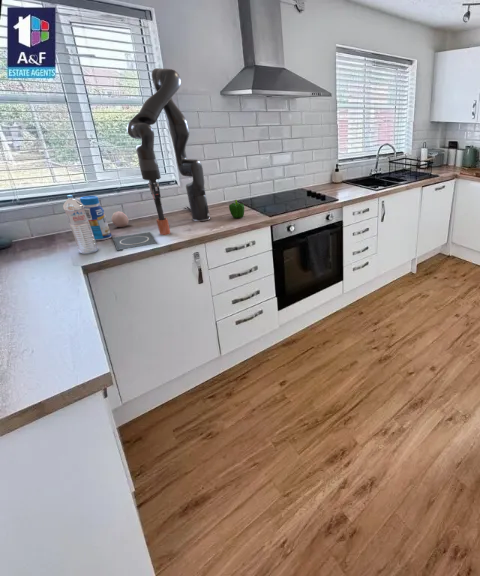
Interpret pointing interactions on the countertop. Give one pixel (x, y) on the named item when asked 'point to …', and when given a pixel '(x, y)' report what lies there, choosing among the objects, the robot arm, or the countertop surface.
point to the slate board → (133, 241)
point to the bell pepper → (236, 209)
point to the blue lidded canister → (96, 217)
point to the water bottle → (80, 226)
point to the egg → (119, 219)
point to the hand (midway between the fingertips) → (158, 204)
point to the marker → (159, 211)
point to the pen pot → (163, 226)
